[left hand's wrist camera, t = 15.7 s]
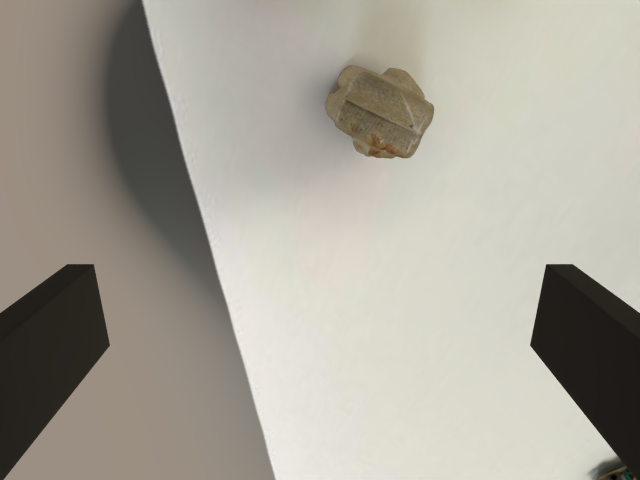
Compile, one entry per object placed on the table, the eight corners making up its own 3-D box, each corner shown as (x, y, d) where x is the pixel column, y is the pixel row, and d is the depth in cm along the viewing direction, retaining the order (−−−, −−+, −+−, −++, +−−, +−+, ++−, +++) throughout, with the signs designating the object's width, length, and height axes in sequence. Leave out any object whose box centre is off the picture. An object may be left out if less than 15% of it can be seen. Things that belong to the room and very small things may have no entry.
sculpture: (351, 52, 35) (371, 33, 21) (423, 97, 37) (488, 108, 23) (316, 116, 37) (314, 137, 23) (386, 157, 38) (425, 201, 24)
